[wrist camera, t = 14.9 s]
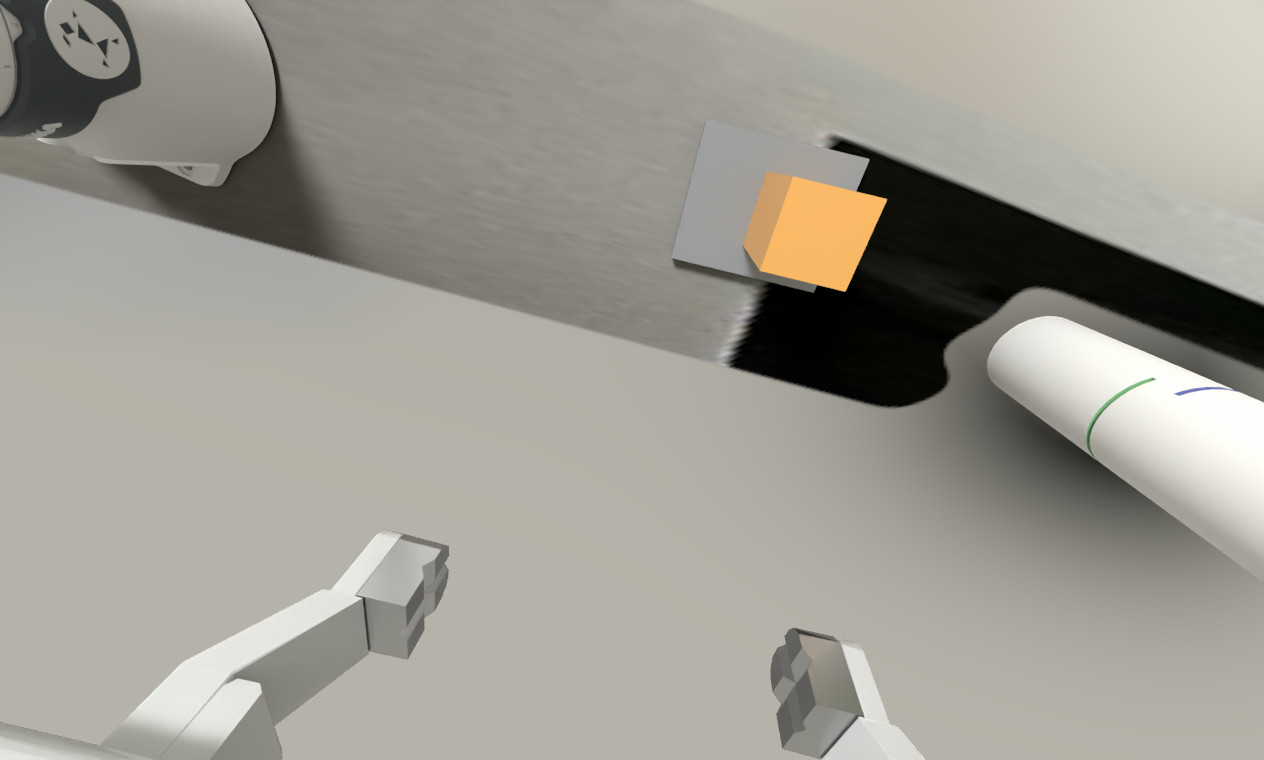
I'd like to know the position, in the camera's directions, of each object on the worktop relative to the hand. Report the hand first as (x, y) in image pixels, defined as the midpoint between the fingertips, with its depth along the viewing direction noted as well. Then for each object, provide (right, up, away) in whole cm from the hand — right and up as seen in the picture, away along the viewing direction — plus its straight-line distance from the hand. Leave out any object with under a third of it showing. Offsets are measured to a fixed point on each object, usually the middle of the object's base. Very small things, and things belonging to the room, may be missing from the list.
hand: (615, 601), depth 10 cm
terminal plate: (+11, +18, +24) cm, 32 cm away
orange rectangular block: (+12, +18, +24) cm, 32 cm away
